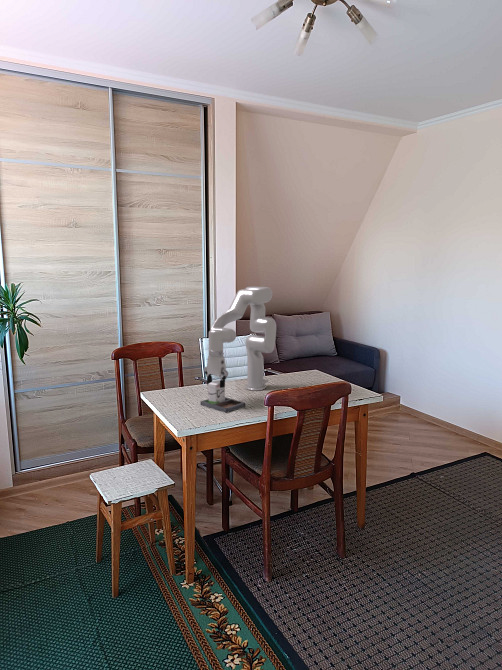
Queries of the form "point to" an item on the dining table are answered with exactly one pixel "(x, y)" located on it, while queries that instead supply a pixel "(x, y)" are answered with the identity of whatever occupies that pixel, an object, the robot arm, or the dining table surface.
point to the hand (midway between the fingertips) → (215, 385)
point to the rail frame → (224, 405)
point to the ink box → (216, 392)
